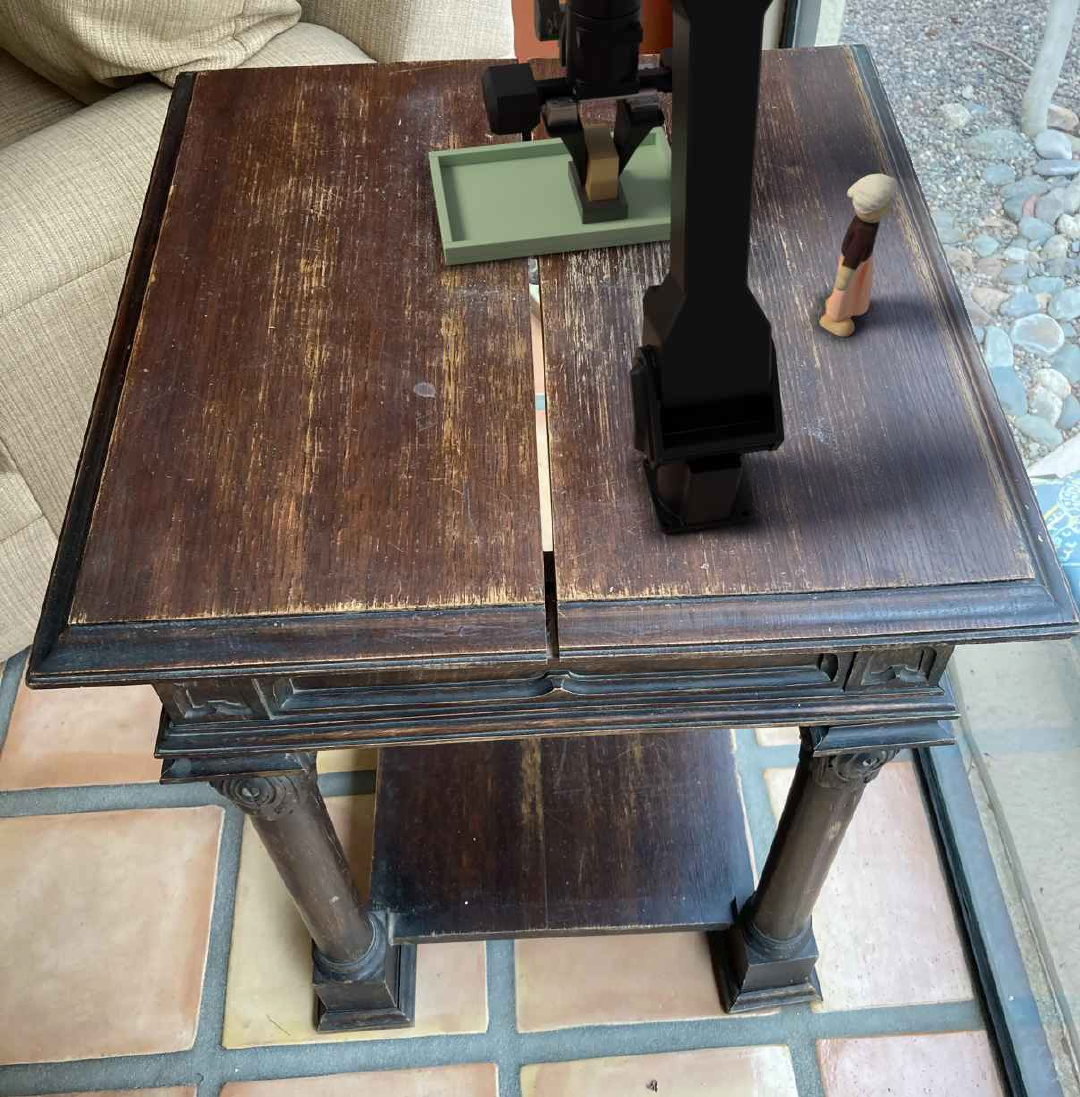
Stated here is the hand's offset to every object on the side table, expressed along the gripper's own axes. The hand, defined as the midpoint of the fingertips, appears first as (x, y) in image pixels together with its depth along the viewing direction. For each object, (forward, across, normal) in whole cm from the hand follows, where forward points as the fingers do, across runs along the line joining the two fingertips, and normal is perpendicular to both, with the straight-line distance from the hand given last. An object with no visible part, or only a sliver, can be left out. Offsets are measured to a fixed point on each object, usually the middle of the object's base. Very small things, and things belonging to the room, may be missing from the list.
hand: (598, 180), depth 91 cm
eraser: (+2, 0, 0) cm, 2 cm away
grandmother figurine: (+3, -17, +17) cm, 24 cm away
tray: (+2, +3, -1) cm, 4 cm away
